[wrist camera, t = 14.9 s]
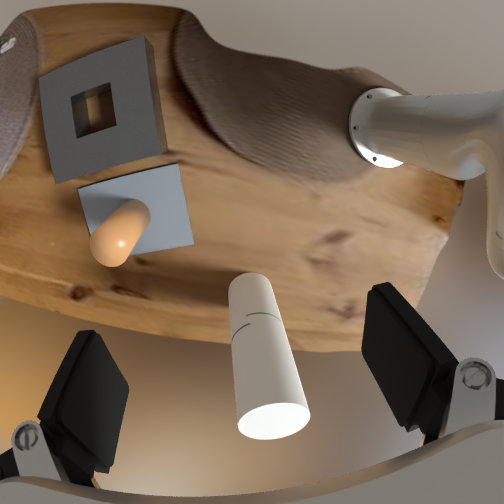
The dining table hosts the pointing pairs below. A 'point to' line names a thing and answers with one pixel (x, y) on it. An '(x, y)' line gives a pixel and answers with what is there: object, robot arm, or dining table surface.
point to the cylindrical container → (263, 363)
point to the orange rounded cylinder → (119, 233)
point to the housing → (125, 107)
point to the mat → (153, 196)
